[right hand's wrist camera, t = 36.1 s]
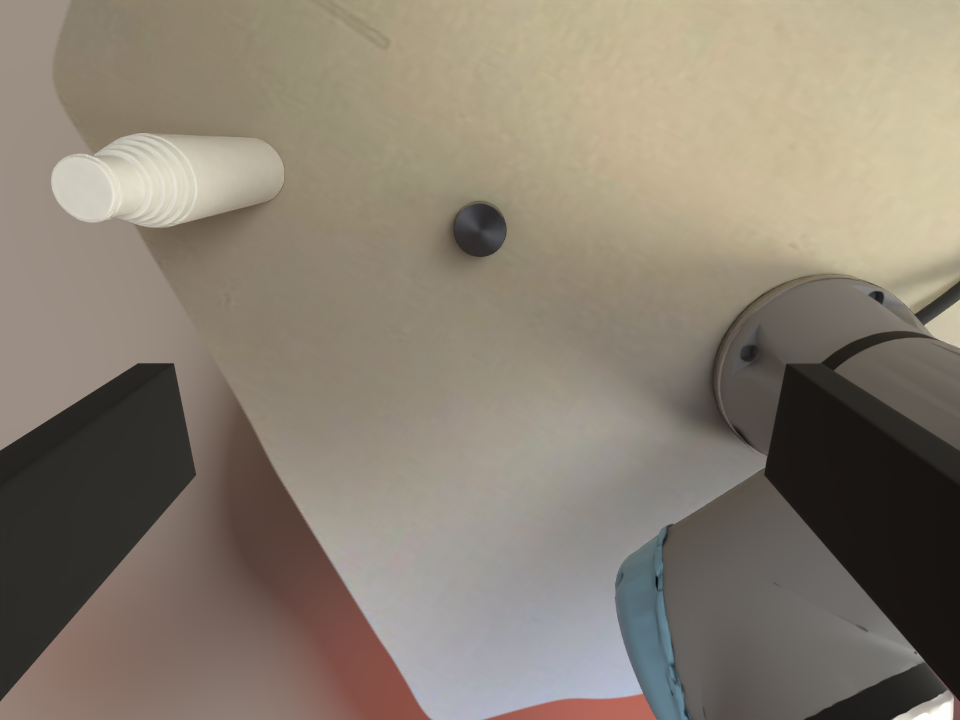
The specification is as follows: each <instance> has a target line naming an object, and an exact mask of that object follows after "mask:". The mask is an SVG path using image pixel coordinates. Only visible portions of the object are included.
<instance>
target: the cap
mask: <svg viewBox="0 0 960 720" xmlns="http://www.w3.org/2000/svg"><path fill="white" fill-rule="evenodd" d="M454 236H455V239H456V242H457V243H458V245H459V246H460V248H461V249H462V250H463V251H465V252H466V253H468V254H470V255H472V256H477V257H483V256H488V255H491V254H493V253H494V252H496V251H497V250H498V249H499V248H500V247H501V246H502V244H503V242H504V240H505V237H506V223H505V220H504V217H503V215H502V213H501V212H500V210H499V209H498V208H497V207H496V206H494V205H493V204H491V203H489V202H485V201H475V202H472V203H469V204H468V205H466V206H465V207H463V208H462V210H461V211H460V212H459V214H458V215H457V218H456V221H455V225H454Z"/></svg>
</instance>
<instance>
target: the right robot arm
mask: <svg viewBox="0 0 960 720" xmlns="http://www.w3.org/2000/svg"><path fill="white" fill-rule="evenodd" d="M958 300H960V281H959V282H958V283H957V284H955V285H954V286H953V287H952V288H950V289H949V290H948V291H947V292H945V293H944V294H943V295H941V296H940V297H939V298H937V299H936V300H934V301H933V302H932V303H930V304H929V305H927V306H926V307H925V308H923V309H922V310H920V311H919V312H918V313H916V314H915V315H914V314H913V313H912V312H911V311H910V309H909V308H908V307H907V306H906V305H905V304H904V303H903V302H902V301H900V300H899V299H898V298H897V297H895V296H894V295H892V294H891V293H889V292H888V291H886V290H884V289H883V288H881V287H879V286H877V285H874V284H872V283H869V282H866V281H864V280H861V279H857V278H854V277H850V276H845V275H836V274H822V275H813V276H808V277H803V278H799V279H796V280H793V281H790V282H788V283H785V284H783V285H781V286H779V287H777V288H774V289H773V290H771V291H769V292H768V293H766V294H764V295H763V296H762V297H760V298H759V299H757V300H756V301H755V302H754V303H753V304H751V305H750V306H749V307H748V308H747V309H746V310H745V311H744V312H743V313H742V314H741V315H740V316H739V317H738V319H737V320H736V321H735V322H734V324H733V325H732V326H731V328H730V329H729V331H728V333H727V334H726V336H725V338H724V340H723V342H722V344H721V346H720V349H719V351H718V354H717V358H716V362H715V366H714V374H713V386H714V394H715V399H716V402H717V405H718V408H719V410H720V412H721V414H722V416H723V417H724V419H725V421H726V422H727V423H728V425H729V426H730V427H731V428H732V429H733V430H734V431H735V432H734V431H733V430H732V429H731V428H730V429H731V430H732V431H733V432H734V433H735V434H736V435H737V436H738V437H739V438H740V439H741V440H742V441H743V440H744V441H745V442H746V443H747V444H749V445H750V446H752V447H753V448H754V449H756V450H758V451H759V452H761V453H763V454H765V455H767V456H768V457H767V462H766V467H765V468H764V469H762V470H761V471H759V472H757V473H756V474H754V475H753V476H751V477H750V478H748V479H746V480H745V481H743V482H742V483H740V484H738V485H737V486H735V487H734V488H732V489H731V490H729V491H727V492H726V493H724V494H723V495H721V496H719V497H718V498H716V499H715V500H713V501H712V502H710V503H708V504H707V505H705V506H704V507H702V508H700V509H699V510H697V511H696V512H694V513H692V514H691V515H689V516H687V517H686V518H684V519H683V520H681V521H679V522H678V523H676V524H670V525H667V526H666V527H664V528H663V529H662V530H661V532H660V533H659V535H658V536H656V537H655V538H653V539H652V540H651V541H649V542H648V543H647V544H645V545H644V546H642V547H641V548H640V549H638V550H637V551H636V552H634V553H633V554H631V555H630V556H629V557H628V558H626V560H625V561H624V562H623V563H622V565H621V567H620V569H619V571H618V574H617V579H616V584H615V587H616V596H615V602H616V611H617V616H618V621H619V626H620V630H621V634H622V637H623V641H624V644H625V647H626V651H627V654H628V656H629V659H630V662H631V665H632V667H633V670H634V672H635V675H636V677H637V680H638V682H639V684H640V687H641V689H642V691H643V694H644V696H645V698H646V700H647V702H648V704H649V706H650V708H651V710H652V712H653V714H654V715H655V717H656V719H657V720H953V700H954V697H953V696H952V694H951V693H950V692H949V690H947V688H946V687H945V686H944V685H943V684H942V682H941V681H940V680H939V679H938V677H939V678H940V679H941V680H942V681H943V682H944V684H945V685H946V686H947V687H948V688H949V689H950V691H951V692H952V693H953V694H954V695H955V696H956V697H957V699H958V700H959V701H960V348H957V347H955V346H952V345H950V344H947V343H945V342H942V341H940V340H938V339H935V338H934V337H933V336H932V335H931V333H930V332H929V331H928V330H927V329H926V328H925V327H924V325H925V324H926V323H928V322H929V321H931V320H932V319H933V318H935V317H936V316H938V315H939V314H940V313H942V312H943V311H945V310H946V309H947V308H949V307H950V306H952V305H953V304H954V303H956V302H957V301H958ZM744 441H743V442H744ZM745 442H744V443H745ZM746 443H745V444H746ZM195 476H196V472H195V467H194V462H193V457H192V452H191V447H190V442H189V437H188V432H187V427H186V422H185V417H184V412H183V407H182V402H181V397H180V392H179V387H178V382H177V377H176V372H175V367H174V364H173V363H138V364H136V365H135V366H133V367H132V368H130V369H128V370H127V371H125V372H124V373H122V374H121V375H119V376H118V377H116V378H114V379H113V380H111V381H110V382H108V383H106V384H105V385H103V386H102V387H100V388H99V389H97V390H95V391H94V392H92V393H91V394H89V395H87V396H86V397H84V398H83V399H81V400H80V401H78V402H76V403H75V404H73V405H72V406H70V407H69V408H67V409H65V410H64V411H62V412H61V413H59V414H58V415H56V416H54V417H53V418H51V419H50V420H48V421H46V422H45V423H43V424H42V425H40V426H38V427H37V428H35V429H34V430H32V431H31V432H29V433H27V434H26V435H24V436H23V437H21V438H20V439H18V440H16V441H15V442H13V443H12V444H10V445H9V446H7V447H5V448H4V449H2V450H1V451H0V701H1V700H2V699H3V697H4V696H5V695H6V694H7V693H8V692H9V691H10V689H11V688H12V687H13V686H14V685H15V684H16V682H17V681H18V680H19V679H20V678H21V677H22V676H23V674H24V673H25V672H26V671H27V670H28V669H29V667H30V666H31V665H32V664H33V663H34V662H35V661H36V659H37V658H38V657H39V656H40V655H41V654H42V652H43V651H44V650H45V649H46V648H47V647H48V645H49V644H50V643H51V642H52V641H53V640H54V638H55V637H56V636H57V635H58V634H59V633H60V632H61V630H62V629H63V628H64V627H65V626H66V625H67V624H68V622H69V621H70V620H71V619H72V618H73V617H74V615H75V614H76V613H77V612H78V611H79V610H80V609H81V607H82V606H83V605H84V604H85V603H86V602H87V600H88V599H89V598H90V597H91V596H92V595H93V593H94V592H95V591H96V590H97V589H98V588H99V586H100V585H101V584H102V583H103V582H104V581H105V580H106V578H107V577H108V576H109V575H110V574H111V573H112V572H113V570H114V569H115V568H116V567H117V566H118V565H119V563H120V562H121V561H122V560H123V559H124V558H125V556H126V555H127V554H128V553H129V552H130V551H131V550H132V548H133V547H134V546H135V545H136V544H137V543H138V541H139V540H140V539H141V538H142V537H143V536H144V535H145V533H146V532H147V531H148V530H149V529H150V528H151V526H152V525H153V524H154V523H155V522H156V521H157V520H158V518H159V517H160V516H161V515H162V514H163V513H164V511H165V510H166V509H167V508H168V507H169V506H170V504H171V503H172V502H173V501H174V500H175V499H176V498H177V496H178V495H179V494H180V493H181V492H182V491H183V489H184V488H185V487H186V486H187V485H188V484H189V483H190V481H191V480H192V479H193V478H194V477H195ZM925 662H926V663H927V664H928V665H929V666H930V667H931V669H932V670H933V671H934V672H935V673H936V674H937V676H938V677H937V676H936V675H935V674H934V673H933V671H932V670H931V669H930V668H929V666H928V665H927V664H926V663H925Z"/></svg>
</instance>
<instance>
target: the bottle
mask: <svg viewBox="0 0 960 720" xmlns="http://www.w3.org/2000/svg"><path fill="white" fill-rule="evenodd" d="M283 183H284V167H283V163H282V161H281V159H280V157H279V155H278V153H277V152H276V151H275V150H274V149H273V148H272V147H271V146H270V145H269V144H267V143H266V142H264V141H262V140H260V139H257V138H249V137H224V136H199V135H175V134H150V133H138V134H132V135H129V136H124V137H121V138H119V139H117V140H115V141H113V142H112V143H111V144H109V145H107V146H106V147H104V148H103V149H101V150H100V151H99V152H97V153H95V154H94V155H93V156H91V155H88V154H79V153H78V154H72V155H68V156H66V157H65V158H63V159H61V160H60V161H59V162H58V163H57V165H56V166H55V167H54V169H53V171H52V174H51V188H52V191H53V194H54V196H55V198H56V200H57V202H58V203H59V204H60V206H61V207H62V208H63V209H64V210H65V211H66V212H67V213H68V214H69V215H71V216H73V217H74V218H76V219H78V220H81V221H84V222H91V223H95V222H101V221H106V220H108V219H110V218H112V217H113V218H116V219H120V220H122V221H126V222H130V223H133V224H136V225H140V226H143V227H157V228H163V227H170V226H174V225H178V224H182V223H186V222H190V221H193V220H197V219H201V218H205V217H209V216H213V215H217V214H221V213H225V212H228V211H232V210H236V209H240V208H244V207H248V206H252V205H256V204H260V203H263V202H267V201H269V200H271V199H273V198H274V197H275V196H276V195H277V194H278V193H279V192H280V190H281V188H282V186H283Z"/></svg>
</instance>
